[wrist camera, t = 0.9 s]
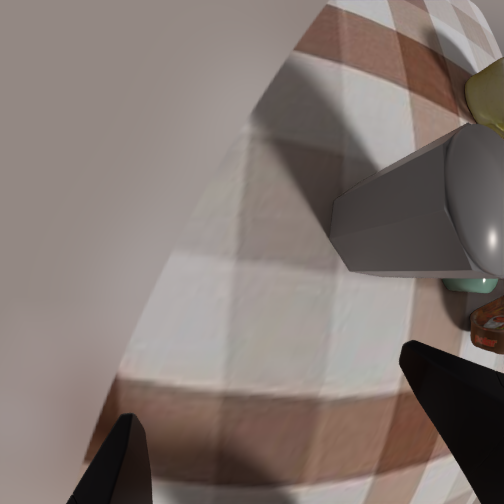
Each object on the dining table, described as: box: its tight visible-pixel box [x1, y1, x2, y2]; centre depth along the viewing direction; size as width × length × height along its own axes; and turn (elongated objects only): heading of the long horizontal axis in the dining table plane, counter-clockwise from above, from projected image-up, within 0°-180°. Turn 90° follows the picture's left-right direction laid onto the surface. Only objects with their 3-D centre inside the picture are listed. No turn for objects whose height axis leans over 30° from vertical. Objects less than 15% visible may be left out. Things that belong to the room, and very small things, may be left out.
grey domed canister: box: [329, 123, 504, 279], centre depth 17 cm, size 7×7×13 cm
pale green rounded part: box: [442, 278, 498, 293], centre depth 22 cm, size 4×4×4 cm
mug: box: [465, 57, 504, 139], centre depth 23 cm, size 12×10×10 cm
